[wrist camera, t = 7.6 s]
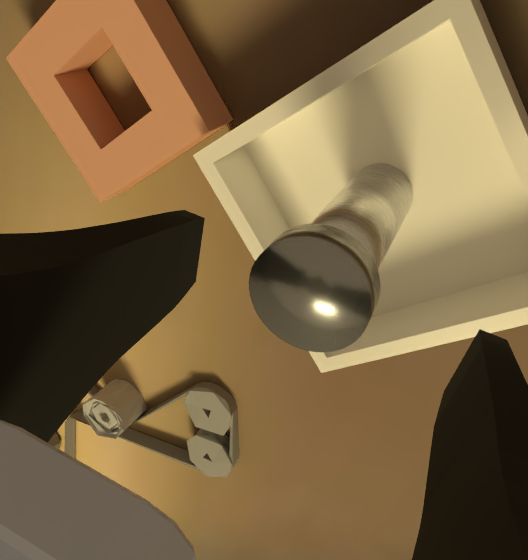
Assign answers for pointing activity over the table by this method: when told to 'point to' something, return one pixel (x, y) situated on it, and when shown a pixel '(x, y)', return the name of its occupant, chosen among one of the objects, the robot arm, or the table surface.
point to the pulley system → (130, 406)
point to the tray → (413, 163)
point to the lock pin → (332, 263)
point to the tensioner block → (92, 104)
